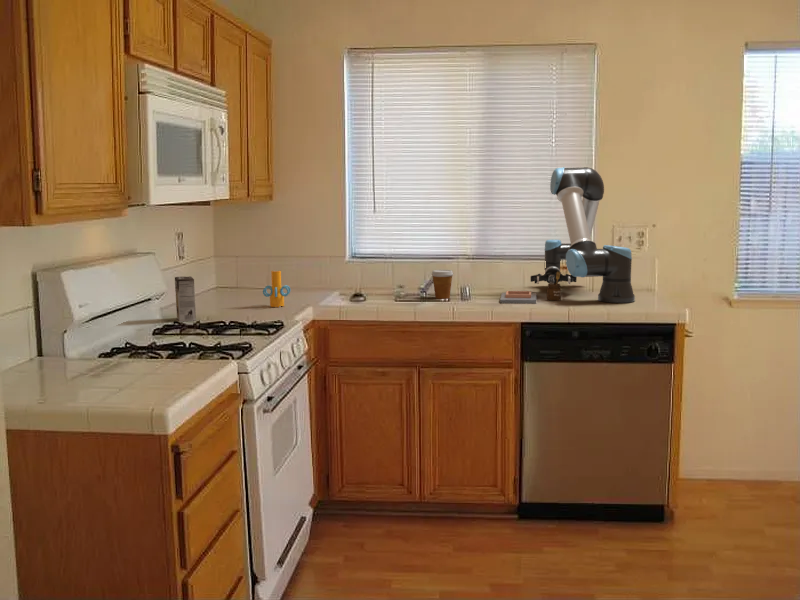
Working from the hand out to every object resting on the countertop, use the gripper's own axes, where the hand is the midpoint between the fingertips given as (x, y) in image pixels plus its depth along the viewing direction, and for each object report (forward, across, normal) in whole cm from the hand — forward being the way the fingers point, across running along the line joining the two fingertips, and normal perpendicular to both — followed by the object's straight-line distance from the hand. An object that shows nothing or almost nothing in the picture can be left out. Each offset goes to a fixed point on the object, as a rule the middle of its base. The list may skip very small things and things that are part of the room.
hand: (553, 281), depth 383 cm
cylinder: (+36, +115, -7) cm, 121 cm away
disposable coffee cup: (+7, +48, -7) cm, 49 cm away
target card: (+10, +15, -7) cm, 19 cm away
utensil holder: (+10, 0, -7) cm, 12 cm away
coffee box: (+71, +140, -7) cm, 158 cm away
